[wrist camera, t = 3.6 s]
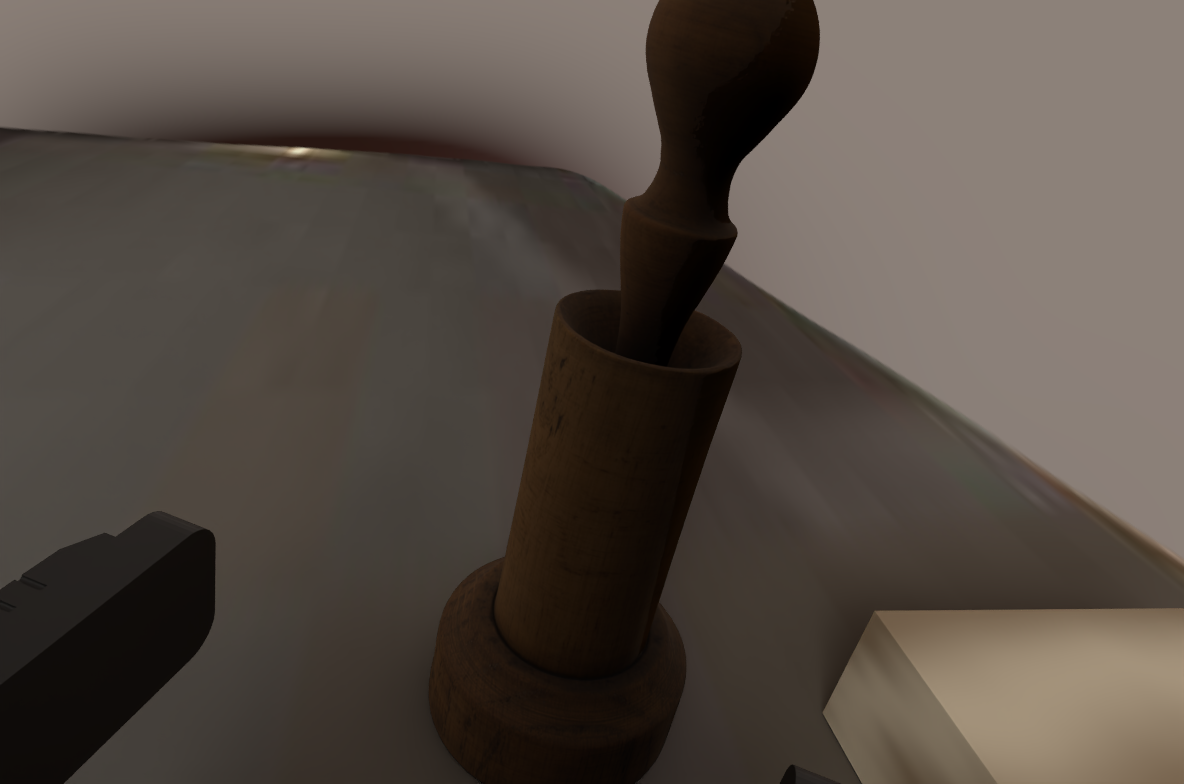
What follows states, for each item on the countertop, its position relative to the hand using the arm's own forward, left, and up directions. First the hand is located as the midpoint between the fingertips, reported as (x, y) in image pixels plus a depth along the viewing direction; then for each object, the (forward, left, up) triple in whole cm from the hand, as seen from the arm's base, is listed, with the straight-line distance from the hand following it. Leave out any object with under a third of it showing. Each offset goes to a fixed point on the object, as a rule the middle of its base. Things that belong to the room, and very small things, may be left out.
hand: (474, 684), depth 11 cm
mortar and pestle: (-7, +4, -9) cm, 12 cm away
